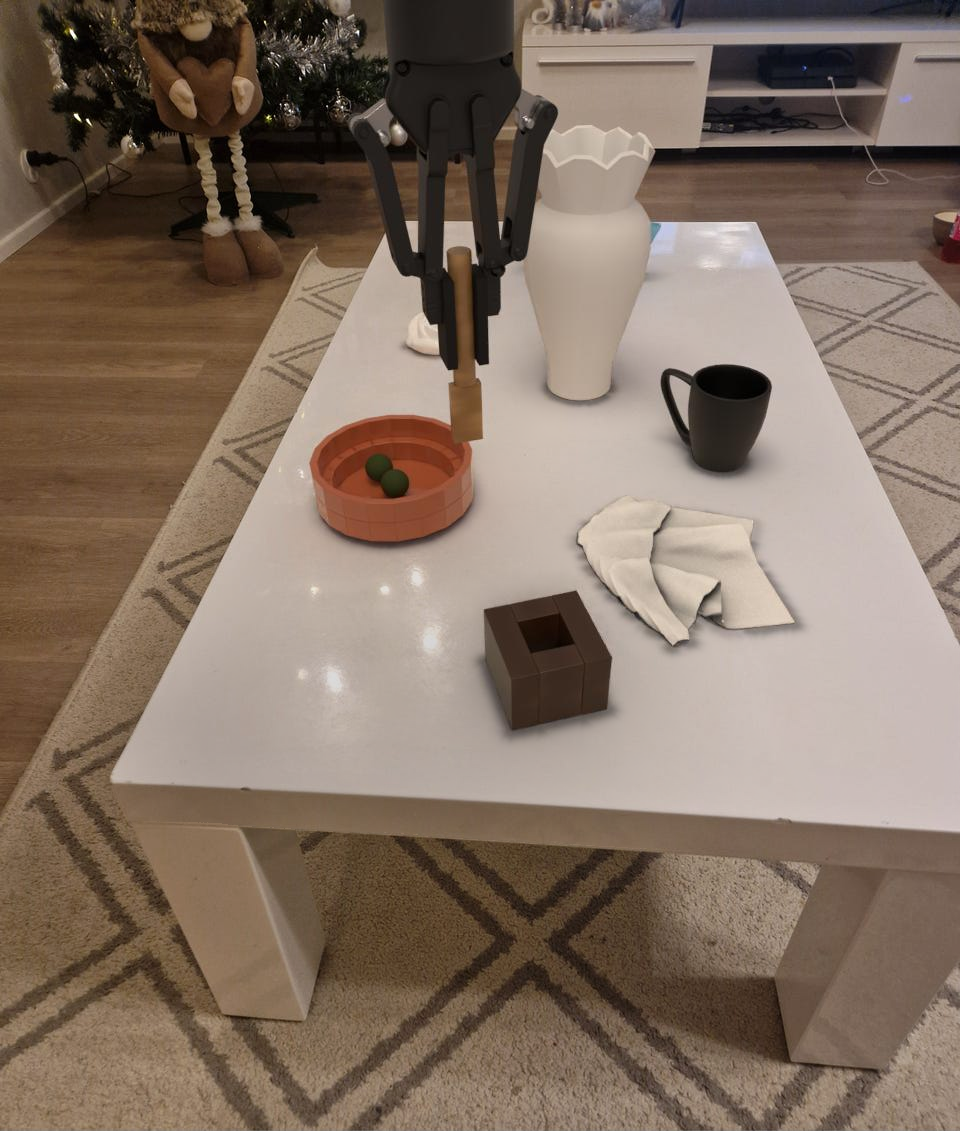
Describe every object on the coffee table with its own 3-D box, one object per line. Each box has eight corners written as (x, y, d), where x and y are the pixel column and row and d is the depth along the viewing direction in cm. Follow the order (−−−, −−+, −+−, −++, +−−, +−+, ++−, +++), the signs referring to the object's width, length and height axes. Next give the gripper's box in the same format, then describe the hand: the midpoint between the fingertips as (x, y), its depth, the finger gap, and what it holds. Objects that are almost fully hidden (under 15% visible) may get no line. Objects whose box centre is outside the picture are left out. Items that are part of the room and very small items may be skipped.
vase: (657, 377, 111) (685, 132, 92) (600, 427, 102) (618, 166, 83) (560, 349, 118) (568, 116, 99) (498, 393, 109) (494, 146, 90)
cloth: (607, 487, 92) (608, 468, 91) (818, 537, 85) (823, 517, 83) (534, 605, 79) (534, 586, 77) (778, 678, 71) (784, 658, 69)
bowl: (328, 561, 84) (320, 516, 81) (310, 470, 97) (302, 428, 93) (491, 530, 87) (490, 486, 84) (453, 446, 100) (450, 404, 96)
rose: (420, 292, 123) (484, 300, 120) (422, 322, 126) (485, 330, 123) (391, 321, 116) (458, 330, 113) (394, 352, 118) (459, 361, 116)
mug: (675, 421, 102) (685, 347, 96) (769, 454, 96) (786, 378, 90) (638, 450, 98) (645, 374, 92) (734, 488, 92) (749, 409, 86)
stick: (455, 447, 67) (444, 256, 58) (450, 436, 69) (438, 248, 59) (484, 442, 68) (479, 252, 58) (479, 431, 69) (472, 243, 59)
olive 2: (375, 479, 88) (378, 468, 91) (384, 505, 90) (387, 493, 92) (402, 472, 88) (405, 461, 91) (411, 498, 89) (414, 487, 92)
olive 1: (371, 486, 91) (358, 461, 91) (374, 486, 94) (362, 461, 94) (396, 473, 91) (383, 448, 91) (399, 473, 94) (386, 449, 94)
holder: (511, 731, 68) (511, 679, 64) (485, 660, 74) (483, 608, 70) (607, 709, 69) (612, 657, 65) (573, 641, 75) (576, 590, 71)
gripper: (548, -38, 53) (541, 324, 68) (308, -23, 50) (357, 352, 65) (593, -25, 47) (575, 366, 62) (327, -7, 44) (375, 399, 60)
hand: (463, 358), depth 64 cm, fingers closed on stick, 2 cm apart
